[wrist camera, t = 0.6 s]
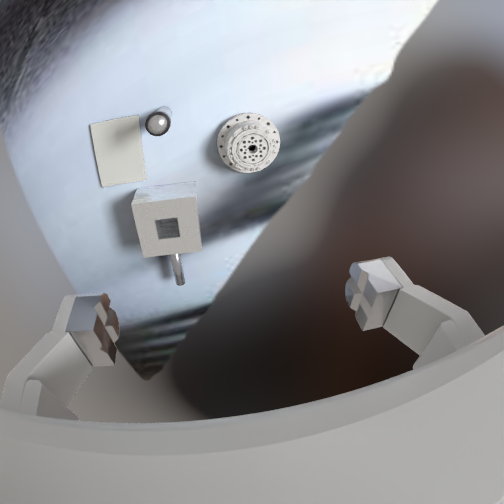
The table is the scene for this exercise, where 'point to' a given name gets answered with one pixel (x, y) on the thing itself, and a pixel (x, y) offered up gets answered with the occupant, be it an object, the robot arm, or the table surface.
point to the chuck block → (168, 222)
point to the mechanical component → (248, 142)
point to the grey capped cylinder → (159, 121)
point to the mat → (119, 150)
